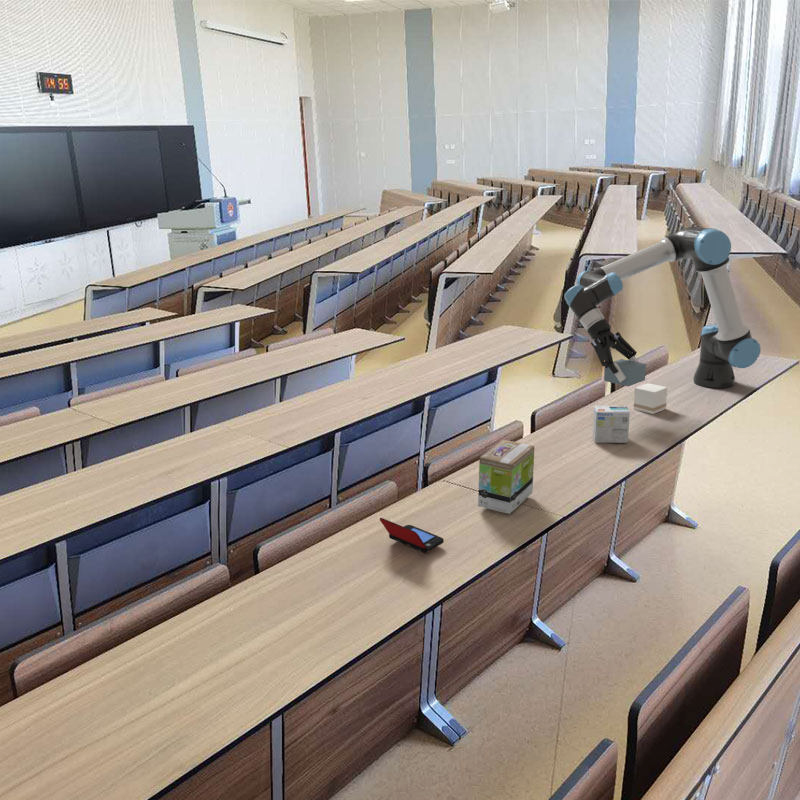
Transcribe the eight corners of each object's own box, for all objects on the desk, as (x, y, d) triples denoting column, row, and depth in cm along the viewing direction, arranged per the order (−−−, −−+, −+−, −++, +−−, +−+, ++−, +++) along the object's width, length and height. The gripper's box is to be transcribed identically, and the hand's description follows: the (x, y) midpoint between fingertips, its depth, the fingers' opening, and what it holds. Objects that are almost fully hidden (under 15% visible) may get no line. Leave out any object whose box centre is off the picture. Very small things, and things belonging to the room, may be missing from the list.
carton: (646, 403, 285) (647, 383, 283) (666, 408, 279) (667, 387, 277) (633, 409, 281) (634, 387, 278) (653, 414, 275) (654, 392, 272)
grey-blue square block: (620, 375, 273) (621, 359, 271) (645, 380, 265) (646, 363, 264) (604, 380, 267) (604, 364, 265) (628, 386, 260) (629, 369, 258)
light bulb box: (624, 435, 256) (627, 404, 253) (628, 443, 250) (630, 411, 246) (591, 435, 257) (593, 404, 254) (594, 443, 251) (596, 411, 247)
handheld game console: (445, 542, 193) (445, 516, 190) (416, 560, 185) (415, 532, 183) (408, 527, 201) (407, 501, 198) (379, 543, 194) (378, 516, 191)
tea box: (511, 515, 205) (512, 464, 200) (477, 507, 210) (477, 456, 206) (533, 493, 217) (535, 444, 212) (500, 485, 222) (501, 437, 217)
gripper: (608, 325, 280) (644, 376, 273) (568, 336, 266) (605, 390, 259) (621, 313, 274) (658, 364, 267) (582, 323, 261) (619, 377, 254)
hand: (632, 377), depth 263 cm, fingers closed on grey-blue square block, 10 cm apart
